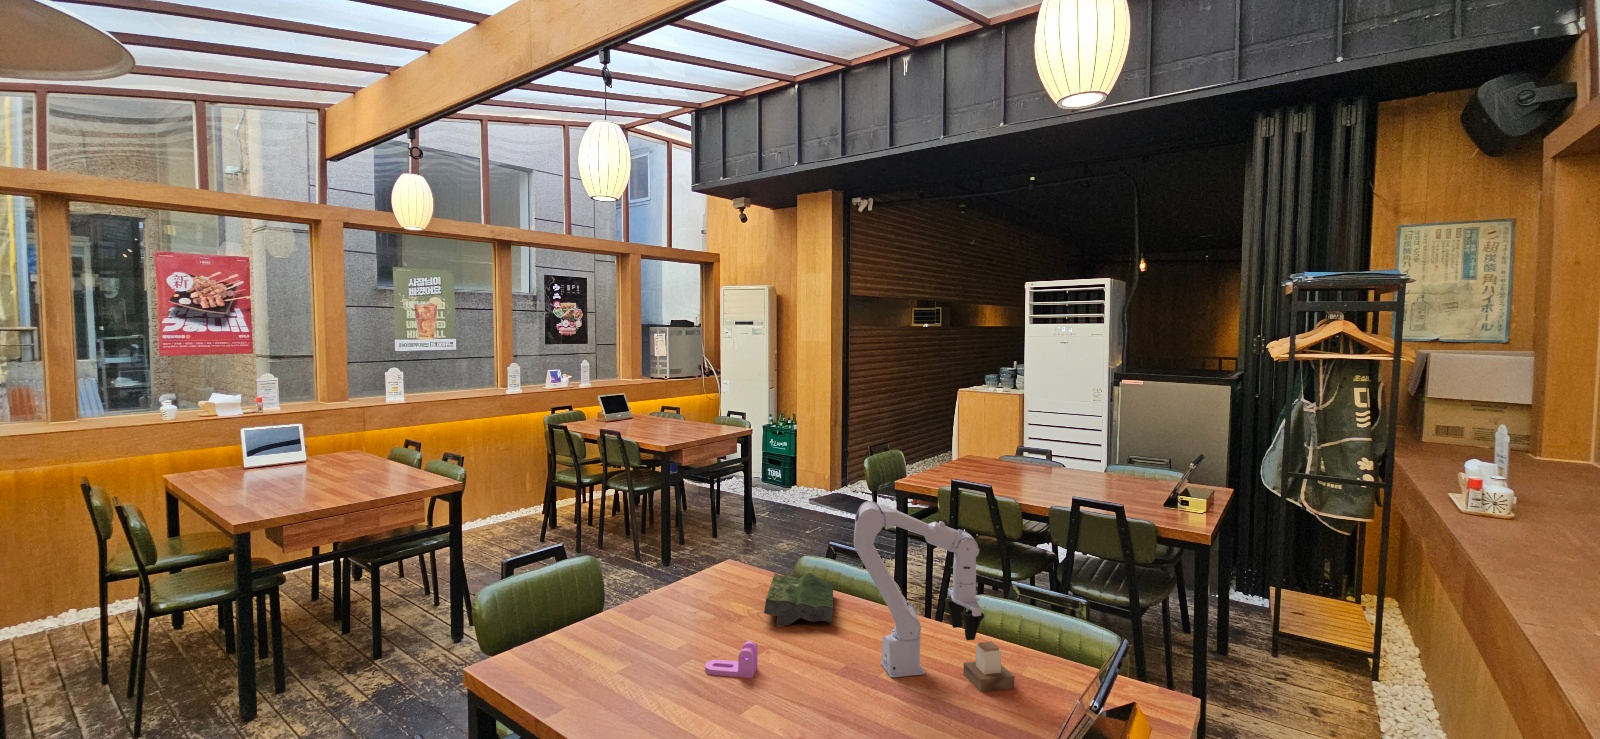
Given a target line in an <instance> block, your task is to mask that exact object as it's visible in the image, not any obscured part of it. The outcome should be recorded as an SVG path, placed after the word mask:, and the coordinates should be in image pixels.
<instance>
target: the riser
mask: <svg viewBox="0 0 1600 739" xmlns="http://www.w3.org/2000/svg"><path fill="white" fill-rule="evenodd" d="M962 671H963V673H962V674H963V676H965V678H966V679H967V680H969V682H971V684H972V685H973V686H974V687H975V688H976V689H977V690H978V691H979V692H980V693H984V692H992V690H995V691H1002V690H1003V689H1004V690H1012V689H1013V690H1014V689H1015V678H1016V676H1015V675H1014V674H1013V673H1012V672H1010V671H1009V670H1008V669H1007V668H1006V667H1005V666H1004V665H1003V664H1001V673H993V674H984V673H983V672H982V671H980V670H979V669H978V668H977V667H976V660H975V661H967V662H963V670H962Z"/></svg>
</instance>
